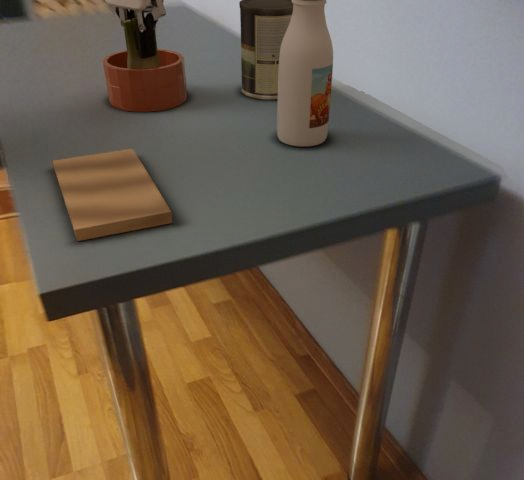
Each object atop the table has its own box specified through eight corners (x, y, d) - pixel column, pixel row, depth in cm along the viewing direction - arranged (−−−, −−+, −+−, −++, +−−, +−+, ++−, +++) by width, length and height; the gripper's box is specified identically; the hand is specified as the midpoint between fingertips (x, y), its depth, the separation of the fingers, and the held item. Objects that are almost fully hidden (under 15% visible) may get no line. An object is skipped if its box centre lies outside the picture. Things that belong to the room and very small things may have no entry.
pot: (93, 100, 96) (85, 60, 92) (150, 82, 104) (145, 44, 100) (146, 117, 90) (140, 75, 86) (202, 97, 98) (200, 57, 94)
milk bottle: (290, 151, 80) (296, -11, 67) (268, 133, 85) (270, -20, 72) (336, 143, 82) (351, -15, 69) (312, 126, 88) (321, -24, 74)
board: (54, 171, 74) (51, 160, 73) (134, 158, 78) (132, 148, 77) (77, 241, 61) (74, 229, 60) (172, 223, 64) (171, 211, 63)
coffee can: (230, 94, 99) (227, 3, 90) (258, 79, 106) (259, -6, 97) (280, 103, 96) (282, 10, 86) (306, 88, 102) (311, -1, 93)
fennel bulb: (162, 89, 99) (154, 13, 91) (165, 98, 95) (157, 19, 87) (129, 91, 98) (118, 14, 90) (131, 100, 94) (120, 21, 86)
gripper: (69, -85, 82) (93, 51, 94) (143, -79, 74) (158, 68, 87) (109, -87, 86) (127, 43, 98) (181, -82, 79) (191, 59, 91)
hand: (141, 54), depth 92 cm, fingers closed on fennel bulb
